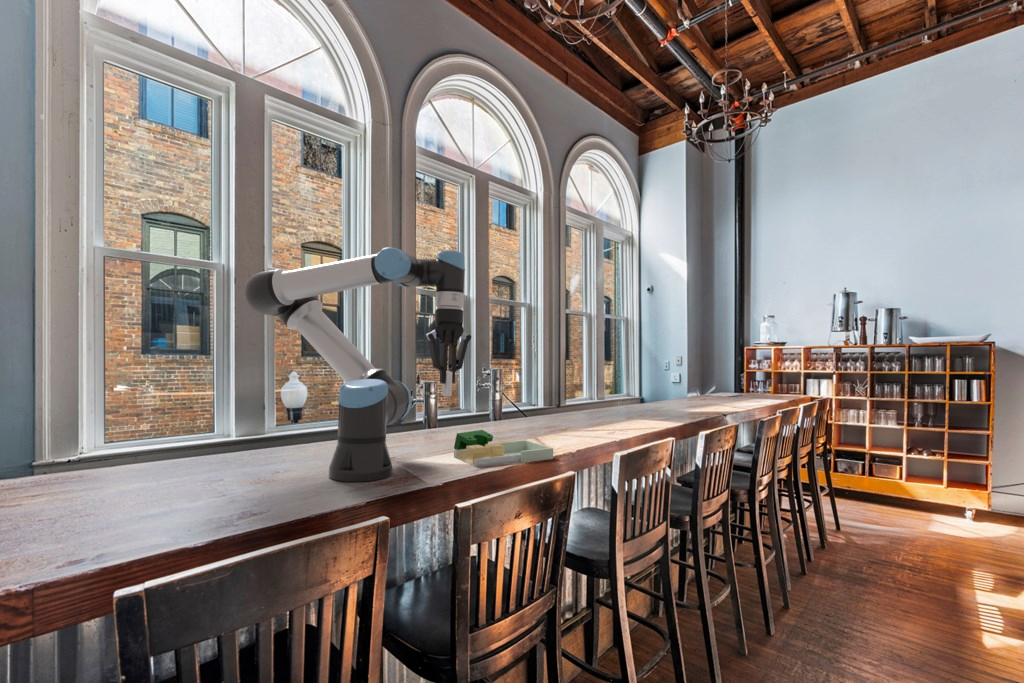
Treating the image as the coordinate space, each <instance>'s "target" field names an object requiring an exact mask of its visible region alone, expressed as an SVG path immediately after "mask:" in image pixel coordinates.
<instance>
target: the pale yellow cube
mask: <svg viewBox="0 0 1024 683" xmlns="http://www.w3.org/2000/svg"><path fill="white" fill-rule="evenodd" d="M485 447H486V457H496V456H504V445H501V444H498V442H493V443H488V444H485Z"/></svg>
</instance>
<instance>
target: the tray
mask: <svg viewBox="0 0 1024 683" xmlns="http://www.w3.org/2000/svg"><path fill="white" fill-rule="evenodd" d="M497 443H498V444H501V445H504V456H505V455H514V454H519V455H520V462H519V463H528V462H529V463H530V462H539V461H545V460H553V459H554V447H549V446H547V445H543V444H540V443H537V442H534V441H531V440H527V439H522V440H510V441H498V442H497Z"/></svg>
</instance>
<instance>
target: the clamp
mask: <svg viewBox="0 0 1024 683" xmlns="http://www.w3.org/2000/svg"><path fill="white" fill-rule="evenodd" d="M493 439H494V435H492V434H491V433H489V432H488V431H485V430H483V429H479V430H470V431H463V432H457V433H456V437H455V440H454V441H455V442H454V446H453V448H454V450H462V449H466V447H467V446H470V445H481V446H484V447H485V444H489V443H490V442H492V441H494V440H493Z"/></svg>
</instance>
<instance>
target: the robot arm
mask: <svg viewBox="0 0 1024 683" xmlns="http://www.w3.org/2000/svg"><path fill="white" fill-rule="evenodd" d="M436 254H437V255H436V258H431V259H429V258H428V259H427V258H417V257H415V256H413V255H411V254H408V253H407V252H405V251H404V250H402V249H400V248H396V247H391V246H390V247H389V246H388V247H383V248H382V249H381V250H379V251H378V252H377V253H375V254H370V255H364V256H359V257H355V258H349V259H343V260H339V261H338V260H337V261H333V262H329V263H323V264H318V265H314V266H313V265H312V266H307V267H303V268H298V269H297V268H296V269H293V270H286V269H284V268H276V269H270V270H265V271H261V272H260V271H259V272H258V273H255V274H254V275H253V276H251V277H250V278H249V279H248V280H247V282H246V284H245V287H244V292H243V294H244V298H245V300H246V303H247V304H248V306H249V307H250V308H251V309H252V310H253V311H255V312H257V313H258V314H261V315H264V316H265V315H266V316H273V317H277V318H278V319H279V320H280V321H282V323H283V325H285V326H286V327H287V328H288V329H289V330H290V331H298V333H299V334H301V336H303V338H304V339H305V340H306V341H307V342H308V343H309V344H310V345H311V347H312V348H313V349H314V350H315V351H316V352H317V353H318V354H319V355H320V356H321V357H322V358H323V360H324V361H326V362H325V363H327V364H328V365H329V366H330V367H331V368H332V369H333V370H334V371H335V373H336V374H337V375H338V376H339V377H340V378H341V380H342V381H344V383H342V385H340V387H339V395H338V398H337V401H338V409H337V410H338V412H337V413H338V416H337V417H338V418H337V443H336V447H335V450H334V453H333V454H332V455H333V456H332V458H331V461H330V463H329V468H328V476H329V478H330V479H332V480H334V481H339V482H349V483H351V482H353V483H356V482H357V483H358V482H360V483H361V482H371V481H378V480H382V479H386V478H388V477H390V476H391V475H392V473H393V463H392V458H391V456H390V454H389V449H388V445H387V443H386V441H387V426H388V425H392V424H396V423H398V422H399V421H401V420H403V419H404V418H405V417H406V416H407V415H408V414H409V412H410V410H411V408H412V402H413V401H412V400H413V397H412V394H411V390H410V389H409V387H408V386H407V385H406V384H405V383H403V382H401V381H400V380H394V378H392V377H391V375H390V374H389V373H388V371H386V370H385V369H384V368H376V367H375V366H374V365H373V364H372V363H371V362H370V361H369V360H368V359H367V357H366V356H365V355H363V354H362V352H361V351H360V350H359V349H358V348H357V347H356V345H354V344H353V343H352V342H351V341H350V339H349V338H348V337H347V336H346V335H345V334H344V333H343V332H342V331H341V330H340V329H339V328H338V327H337V325H336V324H335V323H334V322H333V321H332V319H330V318H329V317H328V315H327V314H325V312H323V306H324V305H323V303H322V301H321V300H320V299H319V298H320V296H322V295H328V294H333V293H338V292H344V291H348V290H349V291H350V290H354V289H359V288H364V287H365V288H366V287H369V286H370V287H371V286H375V285H382V284H387V283H392V282H393V283H394V284H395V285H396V286H397V287H406V288H413V287H418V288H419V287H421V288H422V287H423V288H424V287H426V288H427V287H431V288H434V287H435V307H436V309H435V314H434V315H435V317H434V318H435V319H434V322H435V325H434V326H433V330H432V331H430V332H428V333H425V336H424V337H425V338H426V340H427V342H428V345H429V346H428V347H429V351H430V356H431V361H432V367H433V369H436V370H437V371H439V383H440V384H442V390H441V391H442V392H441V395H442V396H444V397H452V395H453V384H455V382H456V373H457V371H459V370H461V369H462V368H463V365H464V361H465V356H466V354H467V349H468V346H469V345H468V344H469V342H470V341H471V339H472V335H471V334H468V333H466V332H465V329H464V327H463V324H464V311H463V308H464V300H465V299H464V298H465V297H464V296H465V295H464V294H465V293H464V292H465V291H464V290H465V289H464V288H465V271H466V267H465V256H464V254H463V253H462V252H461V251H457V250H450V249H449V250H448V249H447V250H440V251H438V252H437V253H436ZM437 339H438V340H439V341H438V342H439V347H438V343H437ZM459 340H460V342H459ZM458 342H459V345H458ZM438 348H439V349H438ZM457 348H458V349H457Z"/></svg>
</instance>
